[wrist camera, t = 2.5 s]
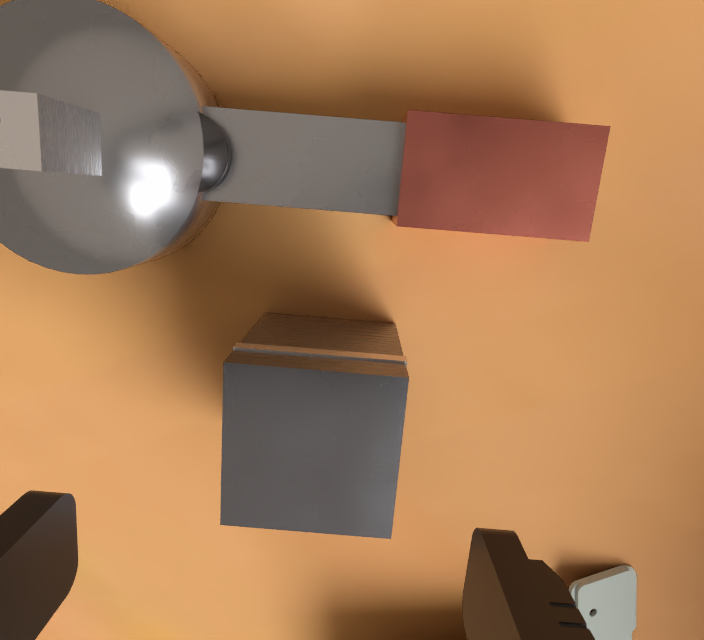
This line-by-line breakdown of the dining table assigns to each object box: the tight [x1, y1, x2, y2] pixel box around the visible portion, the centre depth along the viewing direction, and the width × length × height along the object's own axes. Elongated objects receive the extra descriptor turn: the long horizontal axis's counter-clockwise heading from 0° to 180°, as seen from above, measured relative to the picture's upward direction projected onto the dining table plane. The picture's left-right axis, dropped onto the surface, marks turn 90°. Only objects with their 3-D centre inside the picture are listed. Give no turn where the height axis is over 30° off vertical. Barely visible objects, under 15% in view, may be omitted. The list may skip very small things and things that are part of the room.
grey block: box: [220, 313, 409, 539], centre depth 17 cm, size 5×5×6 cm
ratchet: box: [0, 0, 610, 274], centre depth 15 cm, size 20×8×6 cm, turn 85°
